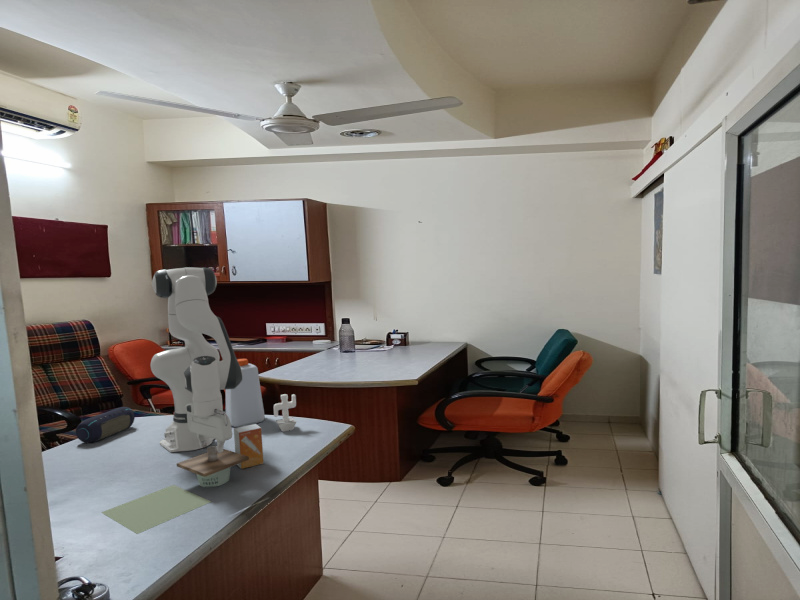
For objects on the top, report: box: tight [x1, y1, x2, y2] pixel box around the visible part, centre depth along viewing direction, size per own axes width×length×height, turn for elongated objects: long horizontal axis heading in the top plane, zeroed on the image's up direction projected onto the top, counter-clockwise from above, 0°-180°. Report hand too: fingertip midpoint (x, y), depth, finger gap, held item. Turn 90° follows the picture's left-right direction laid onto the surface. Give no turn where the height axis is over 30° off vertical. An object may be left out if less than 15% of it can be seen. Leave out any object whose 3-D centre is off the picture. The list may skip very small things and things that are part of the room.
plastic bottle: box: [225, 358, 265, 428], centre depth 238 cm, size 15×15×28 cm
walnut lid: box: [176, 445, 249, 477], centre depth 172 cm, size 16×16×5 cm
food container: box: [195, 467, 231, 488], centre depth 173 cm, size 12×12×6 cm
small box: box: [233, 423, 265, 470], centre depth 187 cm, size 8×6×13 cm
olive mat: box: [101, 484, 212, 535], centre depth 156 cm, size 22×22×1 cm
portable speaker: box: [75, 406, 135, 444], centre depth 229 cm, size 25×10×10 cm, turn 163°
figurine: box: [273, 393, 297, 433], centre depth 223 cm, size 7×9×15 cm
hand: (211, 449), depth 172 cm, fingers open, 8 cm apart
